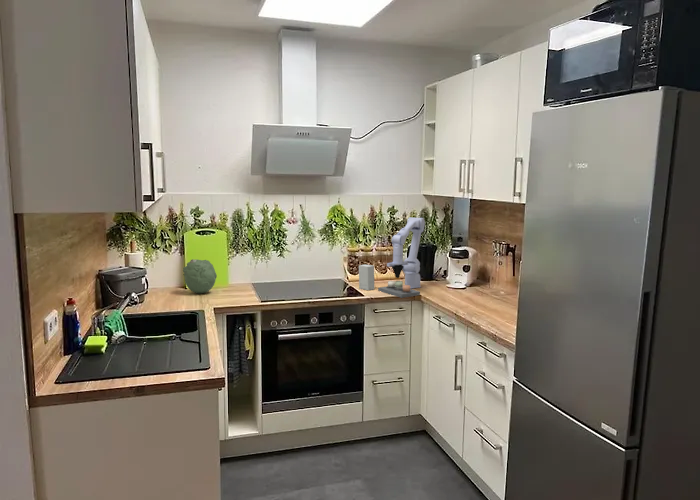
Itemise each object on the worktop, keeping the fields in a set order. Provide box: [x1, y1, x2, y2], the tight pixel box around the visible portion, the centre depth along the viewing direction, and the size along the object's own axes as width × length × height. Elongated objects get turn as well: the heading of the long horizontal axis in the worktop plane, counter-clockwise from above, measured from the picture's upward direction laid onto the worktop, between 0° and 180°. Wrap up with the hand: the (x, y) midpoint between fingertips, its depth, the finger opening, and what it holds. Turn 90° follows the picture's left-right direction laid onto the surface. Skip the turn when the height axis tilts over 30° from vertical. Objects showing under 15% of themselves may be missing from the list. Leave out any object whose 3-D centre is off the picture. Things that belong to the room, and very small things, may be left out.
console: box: [377, 285, 421, 299], centre depth 302 cm, size 14×22×2 cm, turn 34°
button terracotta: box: [403, 284, 410, 292], centre depth 296 cm, size 4×4×3 cm
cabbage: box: [182, 259, 218, 294], centre depth 293 cm, size 16×19×20 cm
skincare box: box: [358, 263, 375, 291], centre depth 311 cm, size 8×6×15 cm
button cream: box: [387, 280, 395, 287], centre depth 307 cm, size 4×4×3 cm
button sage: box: [395, 280, 404, 287], centre depth 301 cm, size 4×4×3 cm
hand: (397, 277), depth 302 cm, fingers closed
